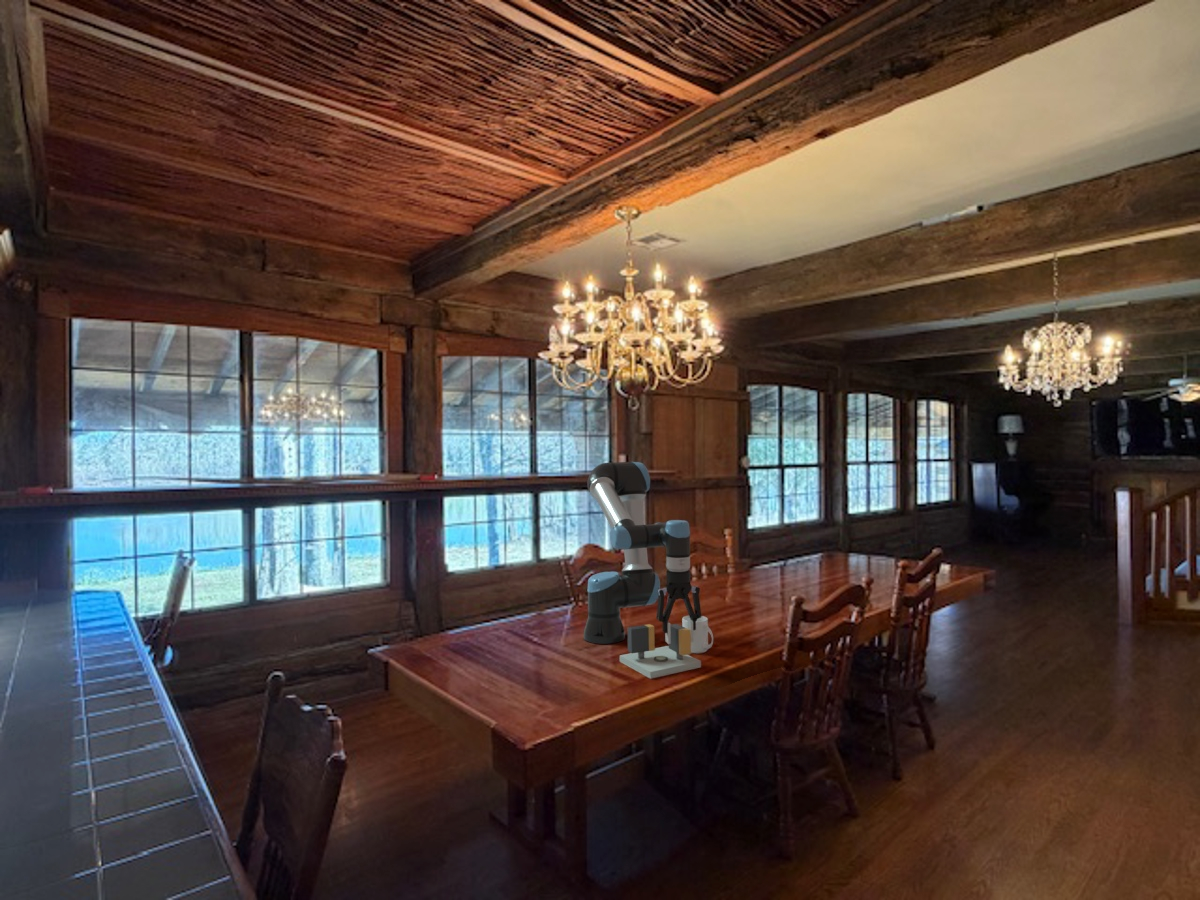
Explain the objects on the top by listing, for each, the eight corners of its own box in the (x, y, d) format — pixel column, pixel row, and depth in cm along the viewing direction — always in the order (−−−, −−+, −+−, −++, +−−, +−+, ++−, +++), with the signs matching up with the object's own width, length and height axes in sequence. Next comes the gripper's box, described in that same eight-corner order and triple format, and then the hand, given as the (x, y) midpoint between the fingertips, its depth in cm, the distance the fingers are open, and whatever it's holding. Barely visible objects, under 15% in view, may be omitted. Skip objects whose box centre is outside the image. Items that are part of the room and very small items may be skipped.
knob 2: (668, 655, 205) (668, 624, 205) (676, 653, 206) (676, 623, 206) (682, 662, 198) (682, 631, 198) (691, 661, 199) (690, 629, 199)
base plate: (619, 661, 206) (619, 653, 206) (667, 651, 216) (667, 643, 216) (650, 678, 191) (650, 669, 191) (700, 667, 200) (700, 658, 200)
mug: (704, 658, 208) (704, 625, 208) (677, 649, 218) (677, 618, 218) (721, 652, 214) (720, 620, 214) (694, 644, 223) (693, 613, 223)
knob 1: (631, 660, 200) (631, 629, 200) (627, 657, 203) (627, 627, 203) (654, 657, 203) (654, 626, 203) (650, 654, 206) (650, 624, 206)
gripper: (652, 573, 196) (653, 648, 196) (712, 569, 201) (713, 642, 201) (644, 569, 203) (645, 641, 203) (702, 565, 208) (703, 635, 208)
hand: (679, 641), depth 202 cm, fingers open, 7 cm apart
